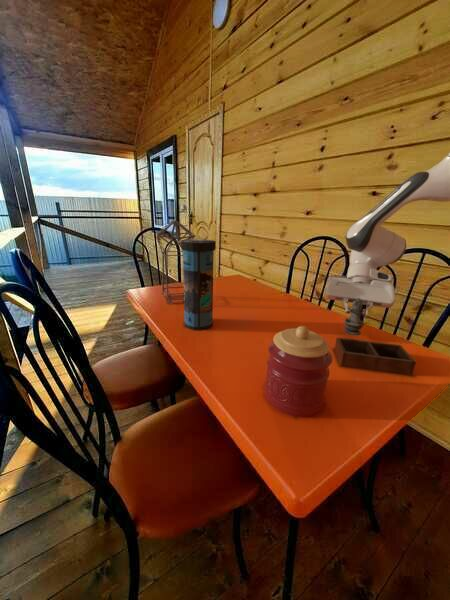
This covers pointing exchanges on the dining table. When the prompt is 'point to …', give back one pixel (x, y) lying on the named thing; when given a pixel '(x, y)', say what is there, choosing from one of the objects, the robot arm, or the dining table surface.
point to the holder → (374, 356)
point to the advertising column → (198, 282)
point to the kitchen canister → (297, 372)
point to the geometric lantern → (171, 255)
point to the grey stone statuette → (354, 319)
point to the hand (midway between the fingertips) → (356, 314)
